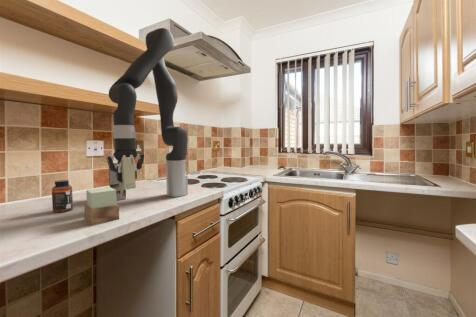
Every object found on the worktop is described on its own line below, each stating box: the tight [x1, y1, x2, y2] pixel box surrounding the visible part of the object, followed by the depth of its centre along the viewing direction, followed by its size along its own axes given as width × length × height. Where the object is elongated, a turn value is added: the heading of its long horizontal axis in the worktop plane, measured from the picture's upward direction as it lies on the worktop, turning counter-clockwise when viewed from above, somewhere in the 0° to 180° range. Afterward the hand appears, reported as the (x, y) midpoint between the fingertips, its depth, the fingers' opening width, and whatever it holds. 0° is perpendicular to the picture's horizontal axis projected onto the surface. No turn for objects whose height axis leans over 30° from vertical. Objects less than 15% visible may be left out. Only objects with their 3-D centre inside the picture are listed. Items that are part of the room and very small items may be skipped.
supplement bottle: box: [51, 179, 74, 213], centre depth 82 cm, size 6×6×11 cm
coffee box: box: [108, 162, 127, 201], centre depth 101 cm, size 9×6×16 cm
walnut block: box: [83, 203, 120, 226], centre depth 73 cm, size 8×8×5 cm
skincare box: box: [119, 157, 137, 191], centre depth 86 cm, size 6×4×12 cm
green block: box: [86, 186, 118, 209], centre depth 73 cm, size 7×7×5 cm
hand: (127, 180), depth 86 cm, fingers closed on skincare box, 4 cm apart
